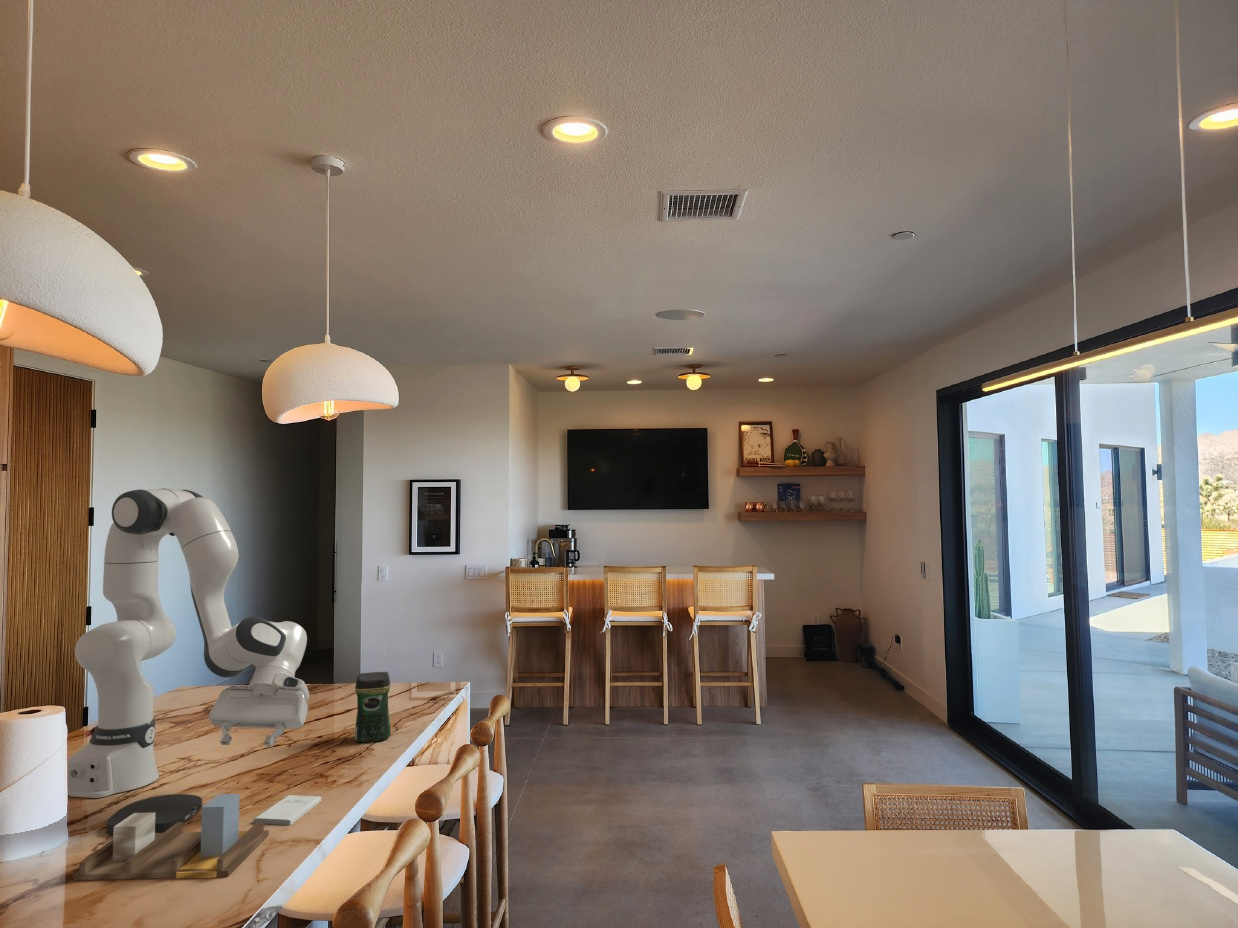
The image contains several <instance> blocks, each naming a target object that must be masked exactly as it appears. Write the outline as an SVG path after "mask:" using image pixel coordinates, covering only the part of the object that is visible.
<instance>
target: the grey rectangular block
mask: <svg viewBox="0 0 1238 928" xmlns="http://www.w3.org/2000/svg"><path fill="white" fill-rule="evenodd" d="M200 825H201V830H200V832H201V857H218V856H222V855H223V854H224V853H225V852H226V851H227V850H228V849H229V848H230V847H231V846H232V845H233V844H234V843H235V842H236V841H237V840H238V837H239V831H240V830H239V829H240V828H239V827H240V793H219V794H217V795H216V796H214V797H213V798H212V799H210V800H209V801H207V803H205V804H204V805H202V809H201V824H200Z"/></svg>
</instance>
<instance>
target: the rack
mask: <svg viewBox="0 0 1238 928" xmlns="http://www.w3.org/2000/svg"><path fill="white" fill-rule="evenodd" d="M253 824H254V825H252V826H251V827H250V828H249V829H248V830H239V837H238V840H237V841H236V842H235V843H234V844H233V845H232V846H231V847H230V848H229V849H228V850H227V851H226V852H225V853H224V854H223V855H222V856H218V857H201V831H187V832H185V831H183V827H184V824H183V822H177V823H176V824H175V825H173V826H172V827H171V828H169V829H168V830H167V831H165V832H164V833H155V813H134V814H132V815H131V816H129V817H128V818H126V819H125V820H123V821H122V822H120V823H119V824H117V825H116V826H114V832H113V835H112V836H113V838H112V840H111V841H109V842H107V844H105V845H103V846H102V847H100V848H99V849H97V850H95V852H93V853H92V854H90V855H89V856H88V857H86V858H85V859H83V860H81V861H80V862H79V870H78V871H77V872H75V873H74V874H73V875H72V876H73V878H72V879H73V881H101V880H103V881H104V880H106V881H108V880H109V881H110V880H139V879H141V880H144V879H176V880H177V879H178V880H179V879H183V880H184V879H216V878H218V877H219V878H221V877H222V878H224V877H225V878H226V877H228V878H229V876H230V875H232V873H233V872H234V871H235V870H236V869H237V868H238V867H239V866H240V865H241V864H242V863H243V862H244V861H245V860H246V859H248V857H249V856H250V855H251V854H253V852H254V851H255V850H256V849H257V848H258V847H259V846H260V845H261V844H262V843H263V842H264V841H265V840H266V839H267V838H268V837H269V835H270V833H269V831H270V830H269V829H268V830H267V829H266V830H264V828H265V824H264V820H259V821H258V822H257V823H253Z"/></svg>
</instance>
